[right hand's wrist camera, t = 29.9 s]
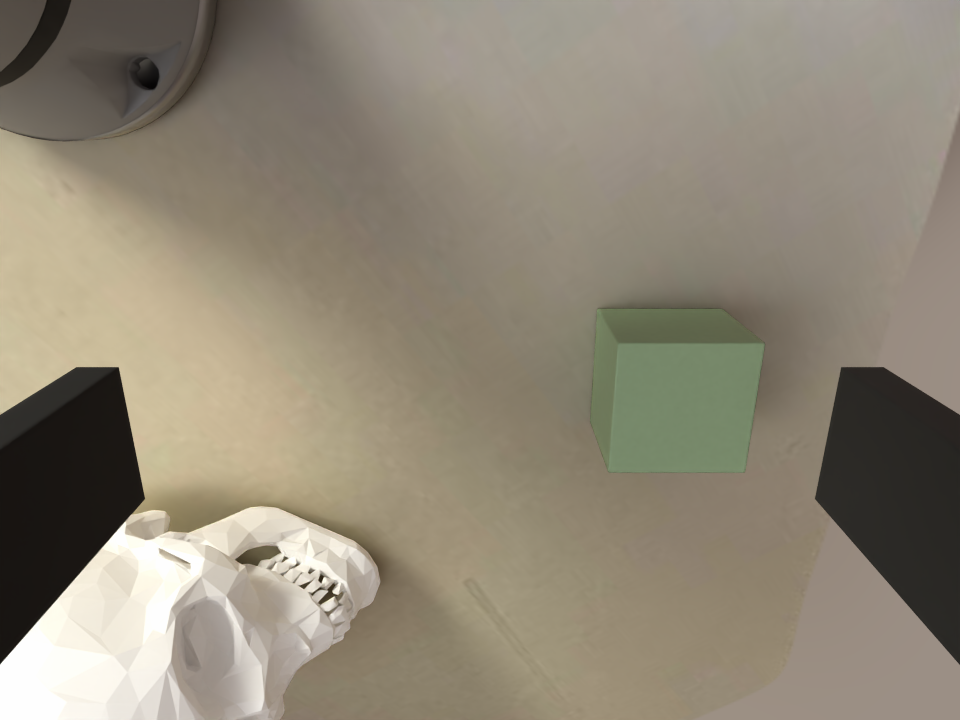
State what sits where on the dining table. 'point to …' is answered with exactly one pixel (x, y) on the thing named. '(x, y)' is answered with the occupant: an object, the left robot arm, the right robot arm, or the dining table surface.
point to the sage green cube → (674, 390)
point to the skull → (188, 622)
